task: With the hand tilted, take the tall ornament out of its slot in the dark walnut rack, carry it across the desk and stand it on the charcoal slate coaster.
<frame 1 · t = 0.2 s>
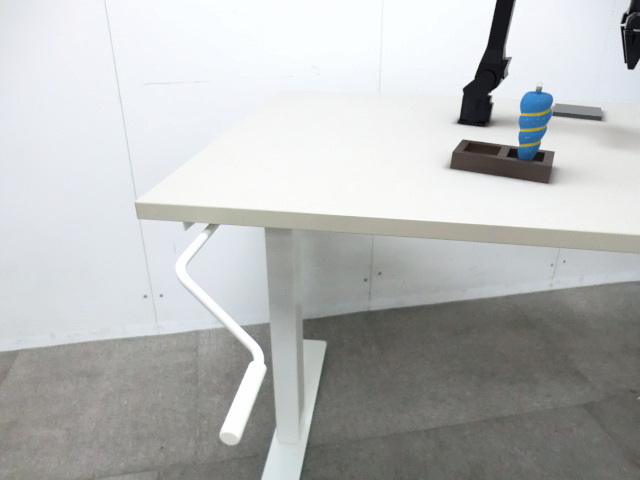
hand: (628, 66, 97), 15 cm above the table, tool pointing down, fingers open, 9 cm apart
rack: (500, 167, 86), on the table
ornament: (522, 172, 85), resting in rack
coaster: (576, 113, 124), on the table
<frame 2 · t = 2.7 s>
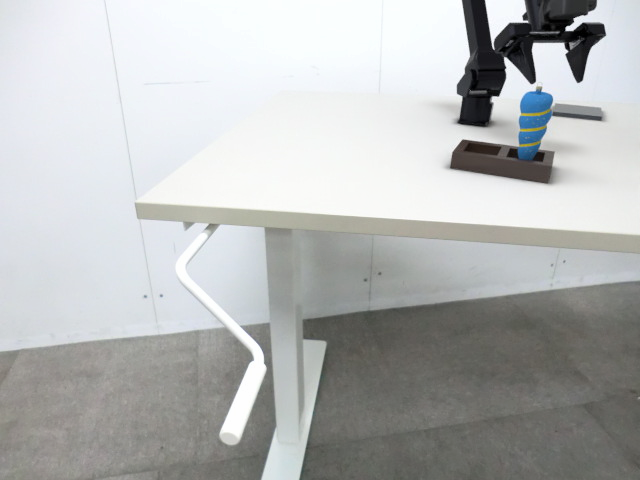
hand: (557, 82, 85), 14 cm above the table, tool tilted 35°, fingers open, 9 cm apart
nothing on the table moved.
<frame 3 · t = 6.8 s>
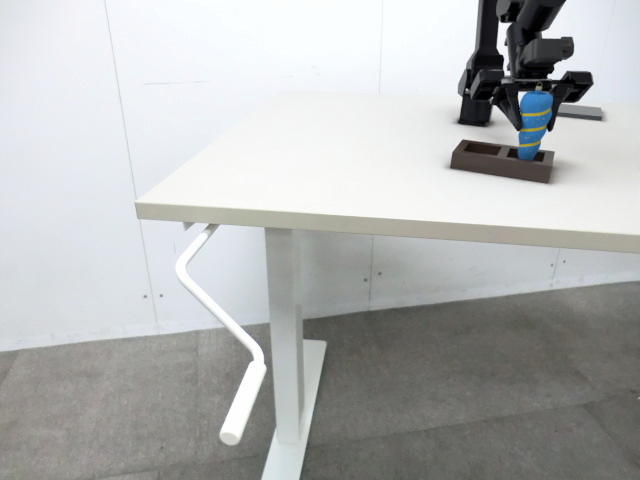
hand: (535, 130, 80), 8 cm above the table, tool tilted 45°, fingers closed on ornament, 5 cm apart
ornament: (522, 172, 84), resting in rack, touching gripper
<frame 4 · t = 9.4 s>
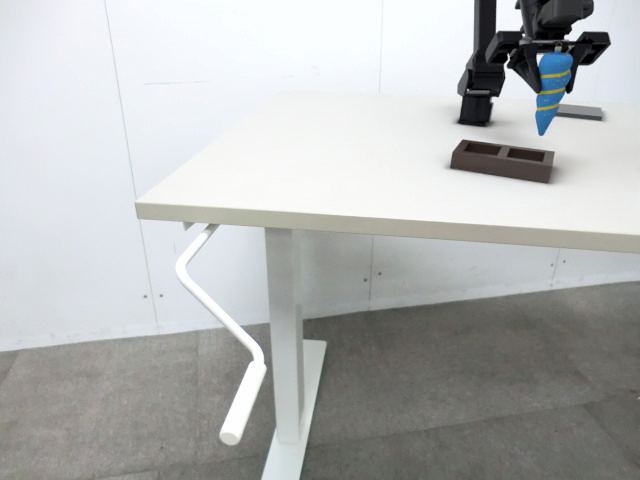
hand: (554, 92, 78), 13 cm above the table, tool tilted 45°, fingers closed on ornament, 5 cm apart
ornament: (539, 136, 83), point 6 cm above the table, touching gripper
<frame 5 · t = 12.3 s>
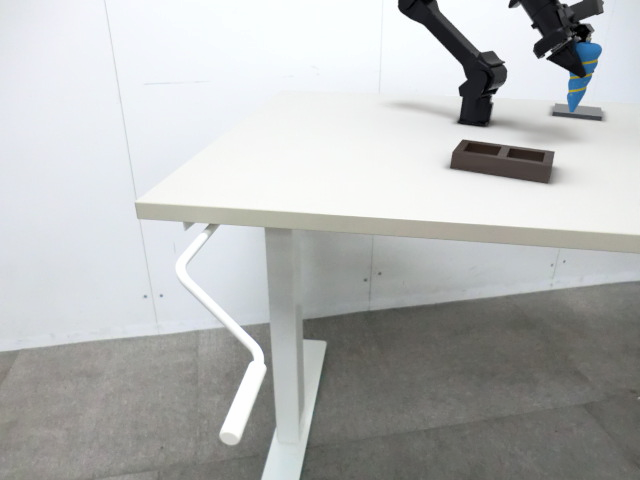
hand: (588, 75, 95), 13 cm above the table, tool tilted 45°, fingers closed on ornament, 5 cm apart
ornament: (570, 113, 99), point 6 cm above the table, touching gripper
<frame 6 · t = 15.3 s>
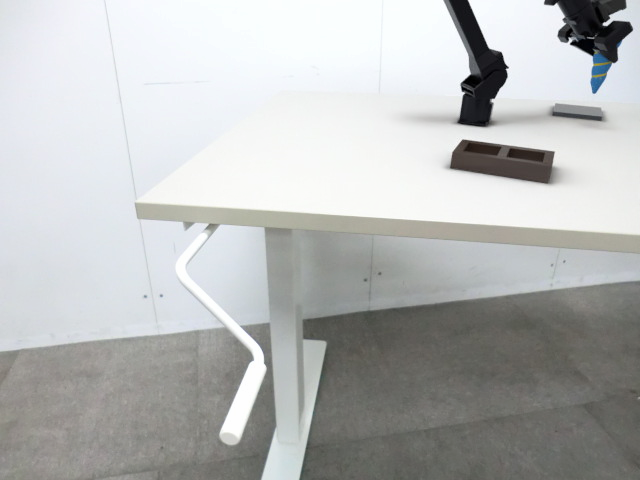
hand: (608, 60, 111), 14 cm above the table, tool tilted 45°, fingers closed on ornament, 5 cm apart
ornament: (593, 94, 115), point 6 cm above the table, touching gripper
when the fingers open (9 cm above the table, at t = 18.2 s): ornament stays where it is, resting on coaster.
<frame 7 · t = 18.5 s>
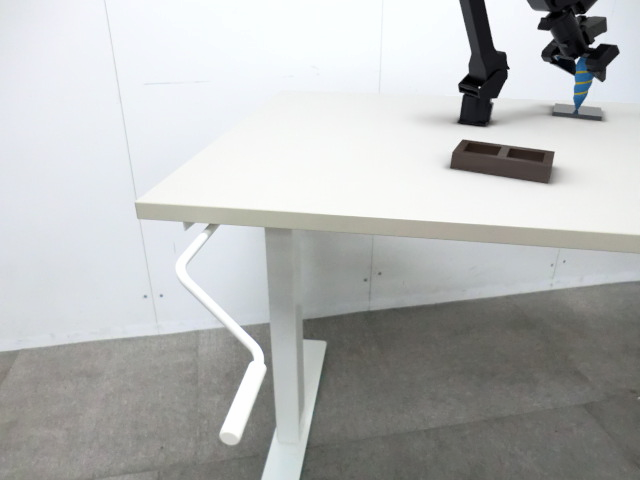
hand: (590, 77, 120), 9 cm above the table, tool tilted 45°, fingers open, 8 cm apart
ornament: (576, 110, 123), point 1 cm above the table, touching coaster
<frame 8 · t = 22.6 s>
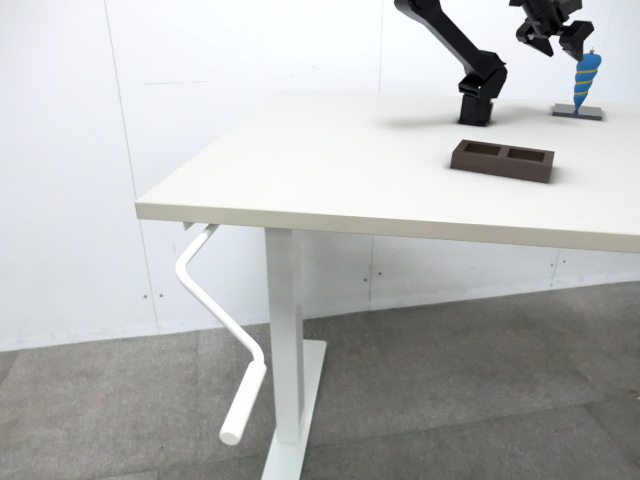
hand: (566, 58, 115), 14 cm above the table, tool tilted 45°, fingers open, 9 cm apart
nothing on the table moved.
at the end: ornament inside the target area on the coaster (0.1 cm from its centre), point 0.8 cm above the coaster's base; ornament tilted 0°; the gripper is holding nothing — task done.
